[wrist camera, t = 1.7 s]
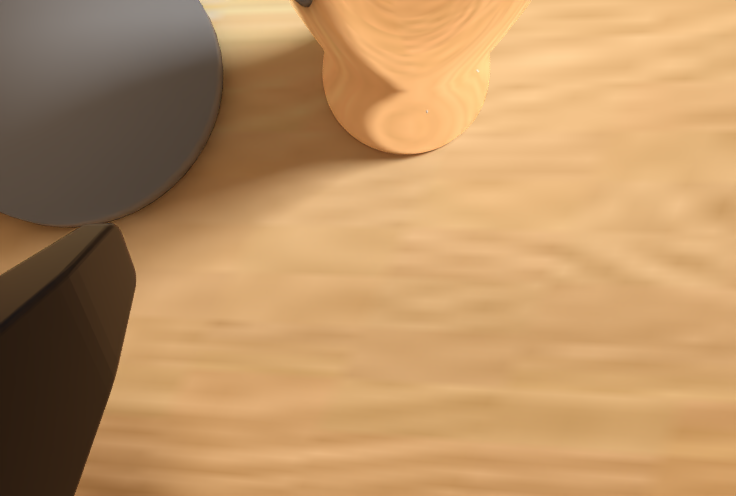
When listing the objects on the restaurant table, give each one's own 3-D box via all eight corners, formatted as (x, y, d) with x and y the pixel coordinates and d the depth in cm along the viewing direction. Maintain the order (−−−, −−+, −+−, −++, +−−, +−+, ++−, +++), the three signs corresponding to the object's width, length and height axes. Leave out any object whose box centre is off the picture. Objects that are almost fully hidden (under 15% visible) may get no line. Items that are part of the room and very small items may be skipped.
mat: (1, 279, 23) (-14, 277, 22) (-104, 27, 24) (-121, 17, 24) (272, 143, 23) (267, 136, 22) (150, -99, 25) (142, -113, 24)
